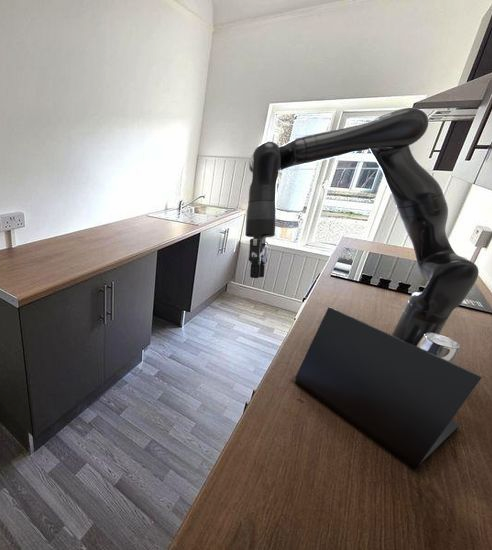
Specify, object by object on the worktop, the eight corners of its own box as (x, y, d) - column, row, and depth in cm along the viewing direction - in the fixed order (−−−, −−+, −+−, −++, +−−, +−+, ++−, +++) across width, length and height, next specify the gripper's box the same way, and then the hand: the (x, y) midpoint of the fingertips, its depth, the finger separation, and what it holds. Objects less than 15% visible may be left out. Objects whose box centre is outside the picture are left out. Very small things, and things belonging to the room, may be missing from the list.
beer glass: (425, 398, 76) (454, 351, 70) (394, 380, 82) (418, 335, 76) (437, 389, 80) (465, 344, 74) (405, 373, 85) (429, 329, 79)
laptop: (338, 361, 89) (341, 355, 88) (456, 430, 68) (460, 424, 67) (294, 382, 79) (296, 376, 79) (415, 469, 58) (420, 463, 58)
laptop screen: (330, 306, 72) (328, 307, 71) (482, 376, 51) (481, 377, 51) (296, 377, 79) (294, 377, 78) (419, 464, 58) (418, 465, 57)
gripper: (272, 214, 74) (268, 279, 75) (278, 222, 86) (275, 277, 87) (241, 216, 78) (237, 277, 79) (251, 223, 90) (248, 276, 91)
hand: (257, 277), depth 83 cm, fingers open, 8 cm apart
